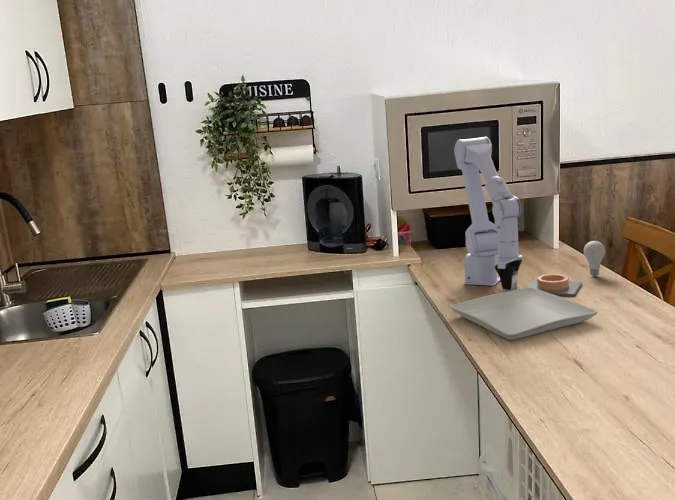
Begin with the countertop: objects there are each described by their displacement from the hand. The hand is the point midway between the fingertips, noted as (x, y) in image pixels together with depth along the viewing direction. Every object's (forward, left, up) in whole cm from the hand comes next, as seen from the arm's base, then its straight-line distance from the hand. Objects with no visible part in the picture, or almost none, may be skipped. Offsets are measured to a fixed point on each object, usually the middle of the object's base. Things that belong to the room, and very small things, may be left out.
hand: (509, 286), depth 207 cm
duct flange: (+10, +8, -2) cm, 13 cm away
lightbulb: (+19, +23, -3) cm, 30 cm away
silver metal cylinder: (0, 0, -2) cm, 2 cm away
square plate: (+8, -20, -3) cm, 22 cm away
